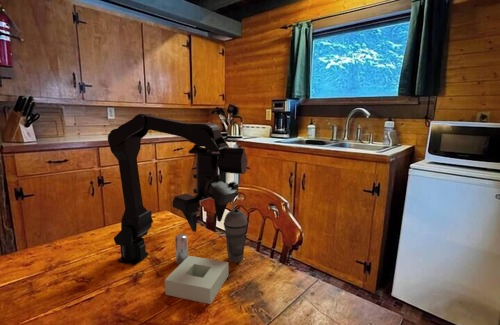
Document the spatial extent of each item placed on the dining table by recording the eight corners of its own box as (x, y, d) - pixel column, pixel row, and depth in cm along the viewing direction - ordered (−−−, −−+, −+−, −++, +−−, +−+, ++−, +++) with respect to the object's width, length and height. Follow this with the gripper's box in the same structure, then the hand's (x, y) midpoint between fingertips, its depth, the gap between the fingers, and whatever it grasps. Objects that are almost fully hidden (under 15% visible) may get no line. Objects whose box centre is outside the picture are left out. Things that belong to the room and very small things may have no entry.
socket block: (165, 294, 68) (164, 279, 67) (189, 268, 79) (188, 255, 78) (210, 304, 64) (210, 288, 64) (228, 275, 76) (228, 262, 75)
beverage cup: (244, 266, 80) (244, 200, 77) (220, 263, 82) (220, 199, 78) (249, 254, 87) (250, 193, 84) (227, 251, 89) (227, 192, 85)
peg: (173, 263, 82) (172, 238, 80) (180, 257, 85) (179, 233, 84) (184, 265, 81) (183, 239, 79) (190, 259, 84) (189, 234, 83)
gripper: (200, 183, 61) (200, 248, 64) (252, 170, 75) (251, 224, 78) (170, 174, 68) (171, 233, 71) (223, 164, 82) (222, 214, 85)
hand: (207, 226), depth 76 cm, fingers open, 9 cm apart
